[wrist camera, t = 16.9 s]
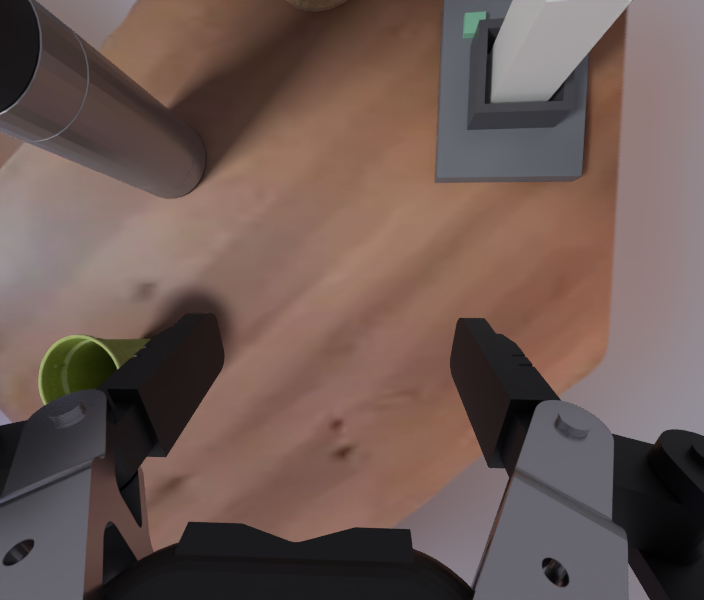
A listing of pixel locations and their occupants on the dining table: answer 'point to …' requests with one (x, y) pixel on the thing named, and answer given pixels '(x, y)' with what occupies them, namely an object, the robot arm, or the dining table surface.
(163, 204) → the dining table surface
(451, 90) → the dock
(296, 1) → the mug
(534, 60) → the grey tall block
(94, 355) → the plant pot
